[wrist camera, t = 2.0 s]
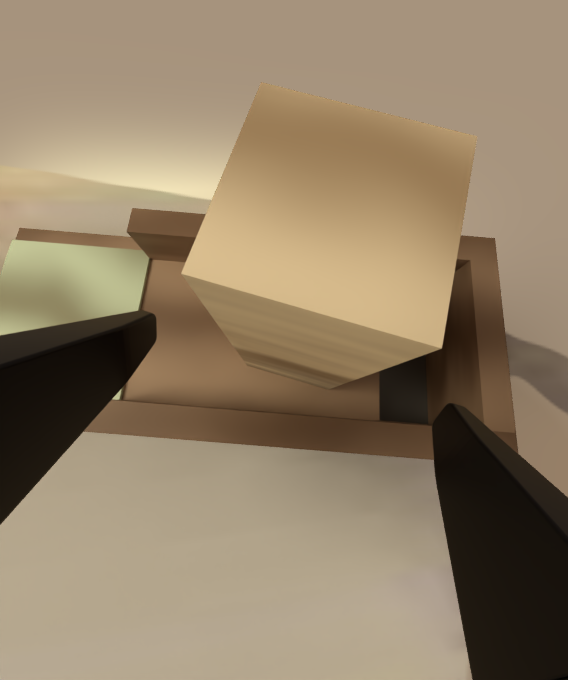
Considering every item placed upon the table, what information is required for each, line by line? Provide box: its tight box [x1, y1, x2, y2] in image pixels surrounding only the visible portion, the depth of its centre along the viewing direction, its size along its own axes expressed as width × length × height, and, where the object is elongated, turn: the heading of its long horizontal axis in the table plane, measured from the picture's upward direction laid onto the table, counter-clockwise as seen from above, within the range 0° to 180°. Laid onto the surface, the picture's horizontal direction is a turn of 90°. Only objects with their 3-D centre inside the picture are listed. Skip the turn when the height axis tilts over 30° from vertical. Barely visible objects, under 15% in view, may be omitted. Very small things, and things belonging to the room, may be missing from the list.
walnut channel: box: [0, 208, 518, 460], centre depth 17 cm, size 12×30×6 cm, turn 86°
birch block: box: [181, 82, 477, 390], centre depth 12 cm, size 5×5×12 cm
